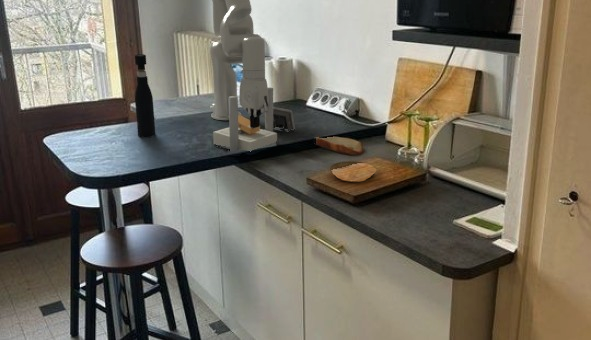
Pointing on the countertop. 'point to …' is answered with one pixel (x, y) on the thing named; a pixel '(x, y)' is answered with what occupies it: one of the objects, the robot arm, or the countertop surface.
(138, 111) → the wine bottle
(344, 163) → the plant saucer
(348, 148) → the bread slice
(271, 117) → the tall grey block
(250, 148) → the grey shallow tray
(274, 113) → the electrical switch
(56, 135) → the countertop surface
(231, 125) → the post
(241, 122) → the rocker
